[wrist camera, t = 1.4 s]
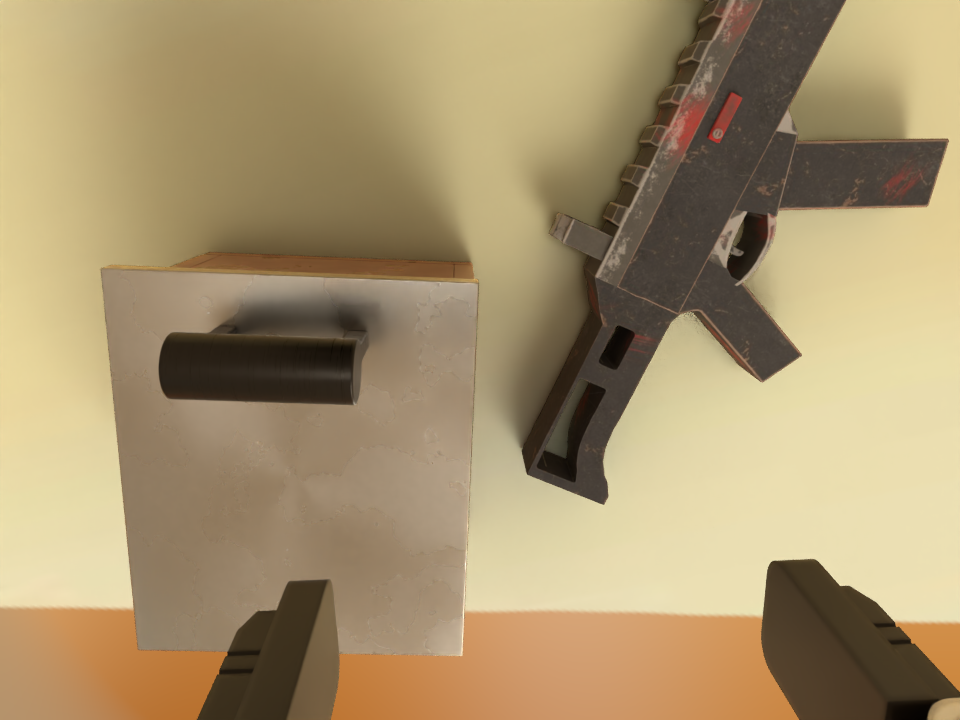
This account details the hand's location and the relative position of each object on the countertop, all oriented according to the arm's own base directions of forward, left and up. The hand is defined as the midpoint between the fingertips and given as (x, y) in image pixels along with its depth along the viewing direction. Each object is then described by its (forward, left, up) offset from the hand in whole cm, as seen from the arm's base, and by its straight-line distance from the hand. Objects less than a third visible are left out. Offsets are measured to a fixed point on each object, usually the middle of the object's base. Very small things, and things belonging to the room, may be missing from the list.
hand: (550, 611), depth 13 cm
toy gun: (+2, +13, -24) cm, 27 cm away
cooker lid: (-2, -8, -14) cm, 16 cm away
